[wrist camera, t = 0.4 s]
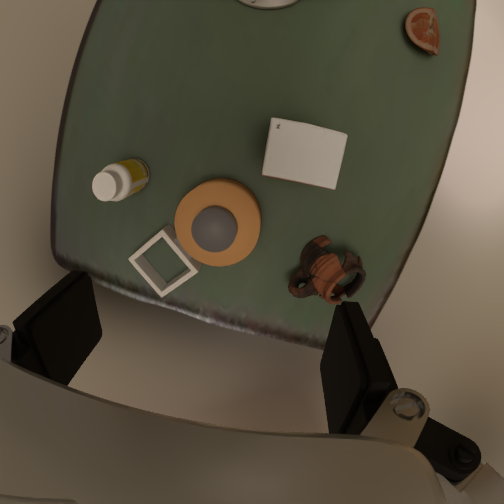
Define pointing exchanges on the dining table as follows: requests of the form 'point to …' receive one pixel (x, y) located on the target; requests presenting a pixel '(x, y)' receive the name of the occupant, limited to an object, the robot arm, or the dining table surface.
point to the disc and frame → (206, 231)
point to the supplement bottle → (120, 180)
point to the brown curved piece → (326, 273)
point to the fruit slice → (424, 29)
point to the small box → (304, 153)
